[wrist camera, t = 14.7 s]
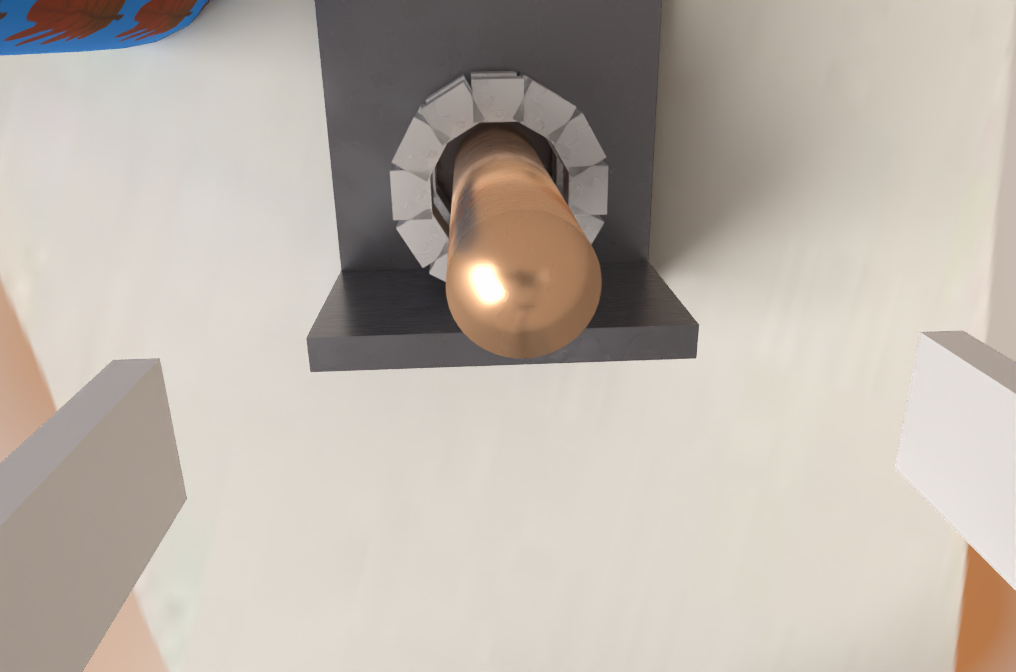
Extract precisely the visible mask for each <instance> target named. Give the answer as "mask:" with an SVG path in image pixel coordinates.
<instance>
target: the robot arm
mask: <svg viewBox="0 0 1016 672" xmlns="http://www.w3.org/2000/svg"><path fill="white" fill-rule="evenodd" d="M895 470H896V471H897V472H898V473H899V474H900V475H901V476H902V477H903V478H904V479H905V480H906V481H907V482H908V483H909V484H910V485H911V486H912V487H913V488H914V489H915V490H916V491H917V492H918V493H919V494H920V495H921V496H922V497H923V498H924V499H925V500H926V501H927V502H928V503H929V504H930V505H931V506H932V507H933V508H934V509H935V510H936V511H937V512H938V513H939V514H940V515H941V516H942V517H943V518H944V519H945V520H946V521H947V522H948V523H949V524H950V525H951V526H952V527H953V528H954V529H955V530H956V531H957V532H958V533H959V534H960V535H961V536H962V537H963V538H964V539H965V540H966V541H967V542H968V543H969V544H970V545H971V546H972V547H973V548H974V549H975V550H976V551H977V552H978V553H979V554H980V555H981V556H982V557H983V558H984V559H985V560H986V561H987V562H988V563H989V564H990V565H991V566H992V567H993V568H994V569H995V570H996V571H997V572H998V573H999V574H1000V575H1001V576H1002V577H1003V578H1004V579H1005V580H1006V581H1007V582H1008V583H1009V584H1010V585H1011V586H1012V587H1013V588H1014V589H1015V590H1016V362H1015V361H1013V360H1012V359H1010V358H1008V357H1007V356H1005V355H1003V354H1001V353H1000V352H998V351H996V350H995V349H993V348H991V347H990V346H988V345H986V344H985V343H983V342H981V341H979V340H978V339H976V338H974V337H973V336H971V335H969V334H968V333H966V332H964V331H940V332H920V337H919V342H918V347H917V352H916V358H915V363H914V368H913V374H912V379H911V384H910V389H909V395H908V400H907V405H906V411H905V416H904V421H903V426H902V432H901V437H900V442H899V448H898V453H897V458H896V463H895ZM186 499H187V497H186V492H185V486H184V481H183V476H182V471H181V466H180V461H179V456H178V450H177V445H176V440H175V435H174V430H173V425H172V420H171V414H170V409H169V404H168V399H167V394H166V389H165V384H164V379H163V373H162V368H161V363H160V358H159V359H130V360H113V361H112V362H111V363H109V364H108V365H107V366H106V367H105V368H104V369H103V370H102V371H101V372H100V373H99V374H97V375H96V376H95V377H94V378H93V379H92V380H91V381H90V382H89V383H88V384H87V385H85V386H84V387H83V388H82V389H81V390H80V391H79V392H78V393H77V394H76V395H75V396H73V397H72V398H71V399H70V400H69V401H68V402H67V403H66V404H65V405H64V406H63V407H61V408H60V409H59V410H58V411H57V412H56V413H55V414H54V415H53V416H52V417H51V418H49V419H48V421H46V422H45V423H44V424H43V425H42V426H41V427H40V428H39V429H38V430H36V431H35V432H34V433H33V434H32V435H31V436H30V437H29V438H28V439H27V440H25V442H23V443H22V444H21V445H20V446H19V447H18V448H17V449H16V450H15V451H13V452H12V453H11V454H10V455H9V456H8V457H7V458H6V459H5V460H4V461H3V462H1V463H0V672H83V670H84V668H85V667H86V665H87V663H88V662H89V660H90V658H91V657H92V655H93V653H94V652H95V650H96V649H97V647H98V645H99V644H100V642H101V640H102V638H103V637H104V635H105V634H106V632H107V630H108V629H109V627H110V625H111V623H112V622H113V620H114V619H115V617H116V615H117V614H118V612H119V610H120V609H121V607H122V605H123V603H124V602H125V600H126V599H127V597H128V595H129V594H130V592H131V591H132V589H133V587H134V586H135V584H136V582H137V581H138V579H139V577H140V576H141V574H142V572H143V571H144V569H145V567H146V566H147V564H148V562H149V561H150V559H151V557H152V556H153V554H154V552H155V551H156V549H157V547H158V546H159V544H160V542H161V541H162V539H163V537H164V536H165V534H166V532H167V531H168V529H169V527H170V526H171V524H172V523H173V521H174V519H175V518H176V516H177V514H178V513H179V511H180V509H181V508H182V506H183V504H184V503H185V501H186Z"/></svg>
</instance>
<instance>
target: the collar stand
mask: <svg viewBox="0 0 1016 672" xmlns="http://www.w3.org/2000/svg"><path fill="white" fill-rule="evenodd" d="M661 3H662V0H315V7H316V17H317V27H318V37H319V48H320V58H321V68H322V78H323V88H324V98H325V108H326V118H327V128H328V139H329V149H330V159H331V169H332V179H333V189H334V199H335V209H336V219H337V230H338V240H339V250H340V260H341V272H340V274H339V276H338V278H337V280H336V282H335V284H334V286H333V288H332V290H331V292H330V294H329V296H328V297H327V299H326V301H325V303H324V305H323V307H322V309H321V311H320V313H319V315H318V317H317V319H316V321H315V323H314V325H313V326H312V328H311V330H310V332H309V334H308V336H307V346H308V354H309V362H310V371H311V372H322V371H350V370H379V369H407V368H435V367H463V366H491V365H519V364H547V363H575V362H603V361H631V360H660V359H688V358H696V355H697V342H698V330H699V324H698V323H697V322H696V320H695V319H694V318H693V317H692V315H691V314H690V313H689V312H688V310H687V309H686V308H685V307H684V305H683V304H682V303H681V302H680V300H679V299H678V298H677V297H676V295H675V294H674V293H673V292H672V290H671V289H670V288H669V287H668V285H667V284H666V283H665V282H664V281H663V279H662V278H661V277H660V276H659V274H658V273H657V272H656V271H655V269H654V268H653V267H652V266H651V264H650V263H649V262H648V251H649V232H650V213H651V194H652V175H653V156H654V137H655V118H656V99H657V79H658V60H659V41H660V22H661ZM489 122H501V123H506V124H509V125H511V126H513V127H515V128H517V129H518V130H520V131H521V132H522V133H523V134H524V135H525V136H526V137H527V139H528V140H529V142H530V143H531V145H532V147H533V149H534V150H535V152H536V154H537V155H538V157H539V159H540V160H541V162H542V164H543V165H544V167H545V169H546V170H547V172H548V174H549V175H550V177H551V179H552V180H553V182H554V184H555V185H556V187H557V189H558V190H559V192H560V194H561V195H562V197H563V199H564V200H565V202H566V204H567V205H568V207H569V209H570V210H571V212H572V214H573V215H574V217H575V219H576V220H577V222H578V224H579V225H580V227H581V229H582V230H583V232H584V234H585V235H586V237H587V239H588V240H589V242H590V244H591V245H592V247H593V249H594V251H595V253H596V255H597V258H598V261H599V265H600V270H601V280H602V286H601V295H600V299H599V303H598V306H597V309H596V311H595V313H594V315H593V317H592V319H591V321H590V322H589V324H588V325H587V326H586V328H585V329H584V330H583V331H582V332H581V334H580V335H579V336H578V337H576V338H575V339H574V340H573V341H572V342H571V343H569V344H567V345H566V346H564V347H563V348H561V349H559V350H557V351H555V352H553V353H550V354H547V355H544V356H539V357H535V358H525V359H524V358H510V357H504V356H500V355H497V354H494V353H491V352H489V351H487V350H485V349H483V348H481V347H480V346H478V345H477V344H475V343H474V342H473V341H471V340H470V339H469V338H468V337H467V336H466V335H465V334H464V333H463V332H462V330H461V329H460V328H459V326H458V325H457V323H456V321H455V320H454V318H453V316H452V314H451V311H450V309H449V305H448V301H447V296H446V271H447V258H448V245H449V231H450V218H451V204H452V191H453V177H454V164H455V155H456V151H457V148H458V146H459V144H460V142H461V140H462V139H463V138H464V136H465V135H466V134H467V133H468V132H469V131H471V130H472V129H473V128H475V127H477V126H479V125H481V124H484V123H489Z"/></svg>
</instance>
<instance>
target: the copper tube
mask: <svg viewBox="0 0 1016 672" xmlns="http://www.w3.org/2000/svg"><path fill="white" fill-rule="evenodd" d="M601 286H602V280H601V270H600V265H599V261H598V258H597V255H596V253H595V251H594V249H593V247H592V245H591V244H590V242H589V240H588V239H587V237H586V235H585V234H584V232H583V230H582V229H581V227H580V225H579V224H578V222H577V220H576V219H575V217H574V215H573V214H572V212H571V210H570V209H569V207H568V205H567V204H566V202H565V200H564V199H563V197H562V195H561V194H560V192H559V190H558V189H557V187H556V185H555V184H554V182H553V180H552V179H551V177H550V175H549V174H548V172H547V170H546V169H545V167H544V165H543V164H542V162H541V160H540V159H539V157H538V155H537V154H536V152H535V150H534V149H533V147H532V145H531V143H530V142H529V140H528V139H527V137H526V136H525V135H524V134H523V133H522V132H521V131H520V130H518V129H517V128H515V127H513V126H511V125H509V124H506V123H501V122H489V123H484V124H481V125H479V126H477V127H475V128H473V129H472V130H471V131H469V132H468V133H467V134H466V135H465V136H464V138H463V139H462V140H461V142H460V144H459V146H458V148H457V151H456V155H455V164H454V177H453V191H452V204H451V218H450V231H449V245H448V258H447V271H446V296H447V301H448V305H449V309H450V311H451V314H452V316H453V318H454V320H455V321H456V323H457V325H458V326H459V328H460V329H461V330H462V332H463V333H464V334H465V335H466V336H467V337H468V338H469V339H470V340H471V341H473V342H474V343H475V344H477V345H478V346H480V347H481V348H483V349H485V350H487V351H489V352H491V353H494V354H497V355H500V356H504V357H510V358H524V359H525V358H535V357H539V356H544V355H547V354H550V353H553V352H555V351H557V350H559V349H561V348H563V347H564V346H566V345H567V344H569V343H571V342H572V341H573V340H574V339H575V338H576V337H578V336H579V335H580V334H581V332H582V331H583V330H584V329H585V328H586V326H587V325H588V324H589V322H590V321H591V319H592V317H593V315H594V313H595V311H596V309H597V306H598V303H599V299H600V295H601Z"/></svg>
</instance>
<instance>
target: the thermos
mask: <svg viewBox="0 0 1016 672" xmlns="http://www.w3.org/2000/svg"><path fill="white" fill-rule="evenodd" d="M208 2H209V0H0V55H20V54H40V53H61V52H81V51H93V50H106V49H119V48H127V47H132V46H137V45H142V44H147V43H152V42H156V41H158V40H160V39H162V38H164V37H166V36H168V35H170V34H172V33H174V32H176V31H178V30H180V29H182V28H184V27H186V26H188V25H189V24H190V23H191V22H192V21H193V20H194V18H195V17H196V16H197V15H198V14H199V12H200V11H201V10H202V9H203V8H204V6H205V5H206V4H207V3H208Z"/></svg>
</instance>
